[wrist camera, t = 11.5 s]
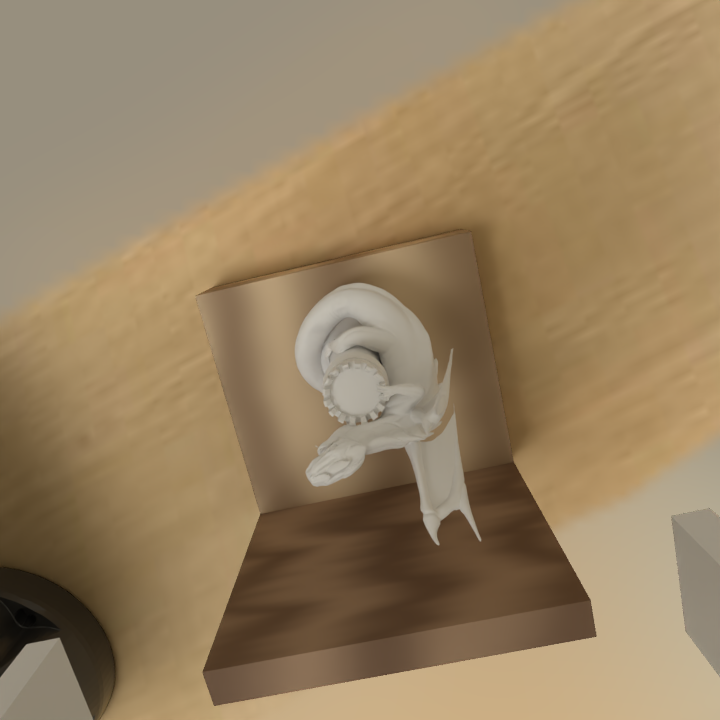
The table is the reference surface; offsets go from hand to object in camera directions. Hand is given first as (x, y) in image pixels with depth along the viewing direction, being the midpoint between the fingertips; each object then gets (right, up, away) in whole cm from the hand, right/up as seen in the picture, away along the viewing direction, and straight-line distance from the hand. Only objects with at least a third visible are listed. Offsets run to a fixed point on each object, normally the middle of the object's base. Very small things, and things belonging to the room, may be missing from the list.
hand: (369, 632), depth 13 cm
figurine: (+1, +5, +21) cm, 21 cm away
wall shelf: (0, +4, +24) cm, 25 cm away
